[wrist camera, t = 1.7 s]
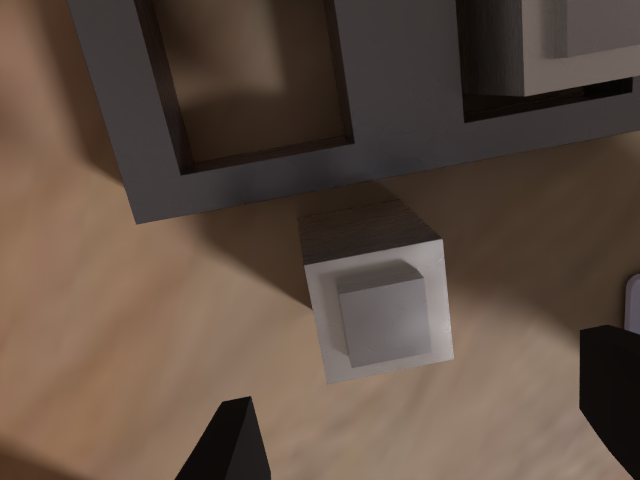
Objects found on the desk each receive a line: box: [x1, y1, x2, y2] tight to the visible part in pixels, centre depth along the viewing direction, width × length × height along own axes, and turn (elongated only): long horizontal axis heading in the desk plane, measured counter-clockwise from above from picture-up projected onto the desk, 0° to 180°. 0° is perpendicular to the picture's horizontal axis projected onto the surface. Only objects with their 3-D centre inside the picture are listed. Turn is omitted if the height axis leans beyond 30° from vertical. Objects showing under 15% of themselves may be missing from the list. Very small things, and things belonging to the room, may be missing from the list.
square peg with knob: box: [455, 0, 640, 97], centre depth 14 cm, size 4×4×6 cm
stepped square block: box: [297, 199, 454, 384], centre depth 16 cm, size 4×4×6 cm
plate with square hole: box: [67, 0, 640, 224], centre depth 15 cm, size 18×8×2 cm, turn 99°
